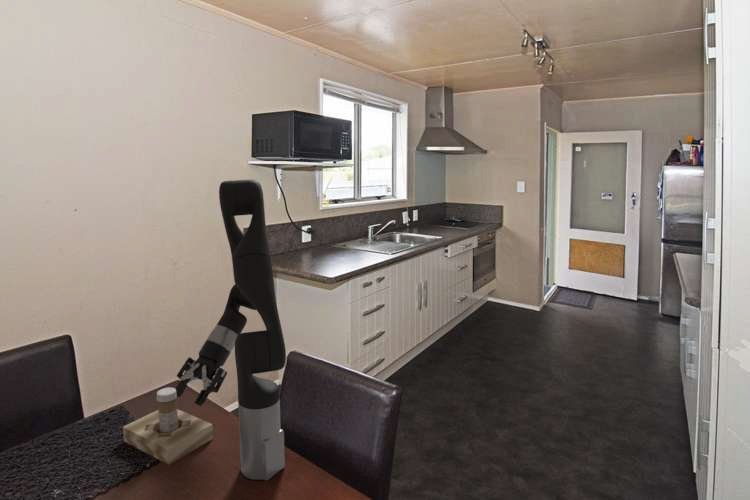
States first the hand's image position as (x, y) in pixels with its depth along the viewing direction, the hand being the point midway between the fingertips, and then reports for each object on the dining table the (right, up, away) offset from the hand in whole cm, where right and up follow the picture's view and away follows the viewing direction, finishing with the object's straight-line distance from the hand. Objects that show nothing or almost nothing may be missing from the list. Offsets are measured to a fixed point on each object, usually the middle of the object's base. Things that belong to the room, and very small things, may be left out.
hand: (186, 400), depth 126 cm
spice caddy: (-3, -9, -4) cm, 10 cm away
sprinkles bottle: (-3, -9, -3) cm, 10 cm away
